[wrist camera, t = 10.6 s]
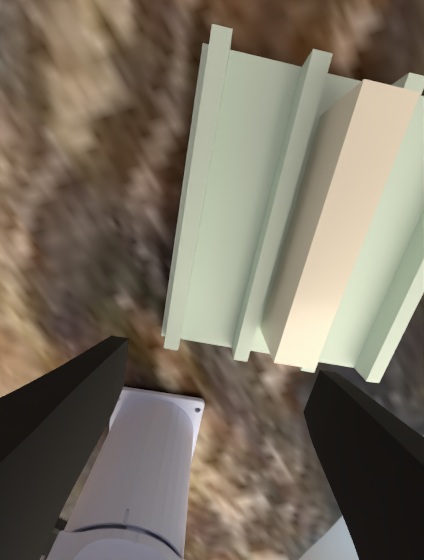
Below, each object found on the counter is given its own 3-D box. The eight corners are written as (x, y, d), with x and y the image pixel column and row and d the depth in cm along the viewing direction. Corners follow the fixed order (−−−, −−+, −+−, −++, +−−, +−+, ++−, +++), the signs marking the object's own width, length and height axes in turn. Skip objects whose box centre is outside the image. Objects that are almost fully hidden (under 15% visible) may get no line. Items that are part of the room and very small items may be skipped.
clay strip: (291, 334, 18) (314, 369, 14) (260, 328, 17) (273, 362, 14) (361, 125, 13) (420, 92, 10) (320, 115, 13) (364, 78, 10)
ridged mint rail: (363, 362, 19) (385, 384, 17) (163, 329, 19) (156, 347, 16) (474, 119, 14) (527, 101, 12) (203, 54, 13) (201, 21, 11)
